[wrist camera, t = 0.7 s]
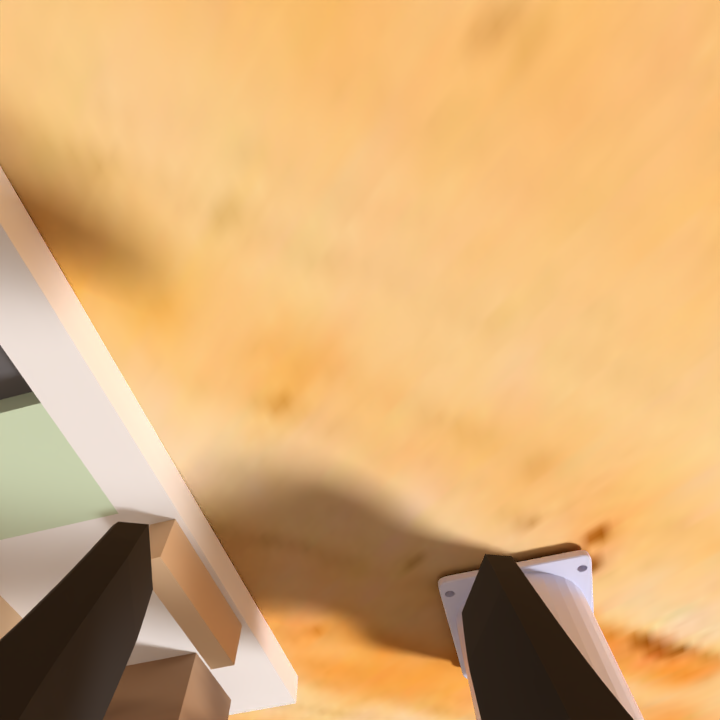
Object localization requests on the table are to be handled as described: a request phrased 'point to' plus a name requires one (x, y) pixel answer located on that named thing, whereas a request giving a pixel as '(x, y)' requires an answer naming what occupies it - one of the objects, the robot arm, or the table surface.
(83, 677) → the robot arm
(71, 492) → the deck
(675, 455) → the table surface
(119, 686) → the walnut block
